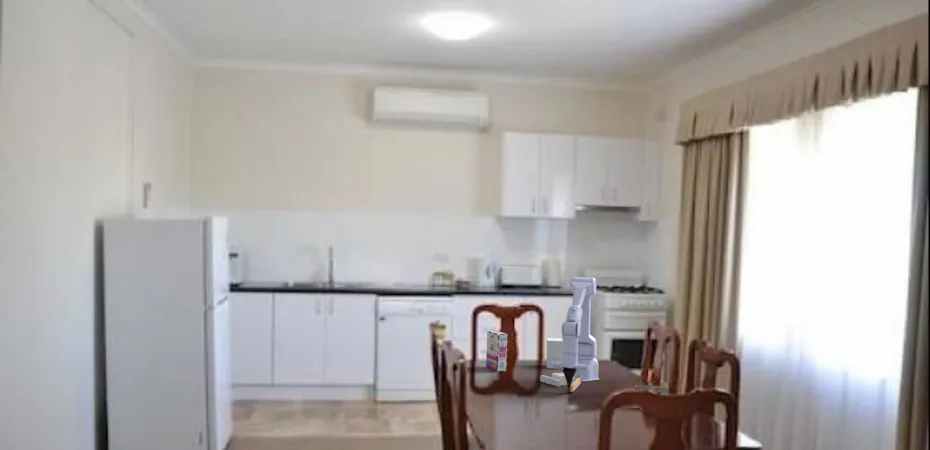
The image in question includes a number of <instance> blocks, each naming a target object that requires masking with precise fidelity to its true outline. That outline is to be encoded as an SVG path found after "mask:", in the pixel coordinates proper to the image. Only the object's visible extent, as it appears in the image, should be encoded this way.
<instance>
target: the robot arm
mask: <svg viewBox="0 0 930 450" xmlns="http://www.w3.org/2000/svg"><path fill="white" fill-rule="evenodd" d="M569 289H570V291H571V293H572V303H571V305H570V306H569V307H568V309H567V312H566V316H565V317H566V318H565V320H564V321H563V322H562V325H561V337H562V340H563V362H551V368H550V369H554V368H563V370H562V372H563V373H564V375H565V378H566V381H567V385H566V386H567V389H570V385H571V383H572V379H573V377H574V378H578V375H582V377H581V383H582V382H583V383H584V382H585V383H586V382H590V381H591V382H592V381H599V380H600V378H599V361H598V359H597V358H596V357H597V354H598V345H597V343H598V342H597V339H596V338H595V337H594V336H593V335H591V315H592V314H591V305H592V298H593V297H596V294H597V280H596V277H587V276H586V277H581V276H572V277H570V281H569Z"/></svg>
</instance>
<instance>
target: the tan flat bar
mask: <svg viewBox="0 0 930 450" xmlns="http://www.w3.org/2000/svg"><path fill="white" fill-rule="evenodd" d="M581 377H582V375H578V378H577V379H576V380H575V381H574V382H573V383H572V384H571V385H570V388H569V389H570V390H569V392H570V393H573V392H574V391H575V390H576V389H578V387H579V386H582V381H581Z"/></svg>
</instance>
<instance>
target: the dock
mask: <svg viewBox="0 0 930 450" xmlns="http://www.w3.org/2000/svg"><path fill="white" fill-rule="evenodd" d="M539 379H540V380H539V381H540V382H541V383H544V382H545V383H544V384H548V385H550V384H551V386H553V385H554V386H553V387H556V386H557V388H558V387H559V386H561V380H558V379H555V378H552V376H549V375H548V376H547V375H545V374H541V375H540V377H539ZM576 379H577V378H574V377H573V379H572V383H573V382H574V381H575V380H576ZM572 383H571V384H572ZM561 387H562V386H561ZM559 388H560V387H559Z"/></svg>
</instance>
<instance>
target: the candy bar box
mask: <svg viewBox="0 0 930 450" xmlns="http://www.w3.org/2000/svg"><path fill="white" fill-rule="evenodd" d="M486 333H487V334H486V354H485V355H486V359H485V367H486V369H489V370H492V371H494V372H497V373H501V372H502V373H503V372H507V368H508V367H507V365H508V343H509V342H508V338H509V334H508V333H505V332H502V331H499V330H487V332H486Z"/></svg>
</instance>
